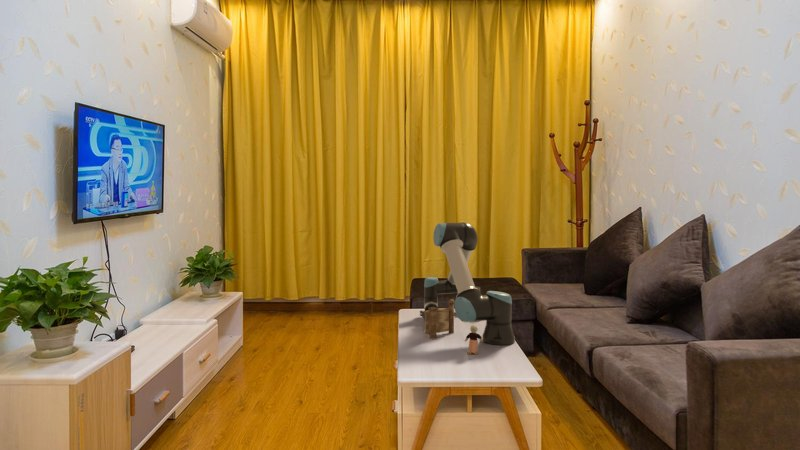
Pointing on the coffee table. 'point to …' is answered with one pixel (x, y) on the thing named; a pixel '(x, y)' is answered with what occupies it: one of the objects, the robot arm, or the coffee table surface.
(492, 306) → the robot arm
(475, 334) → the grandmother figurine
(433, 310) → the latch post
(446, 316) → the gate
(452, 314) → the hinge post
